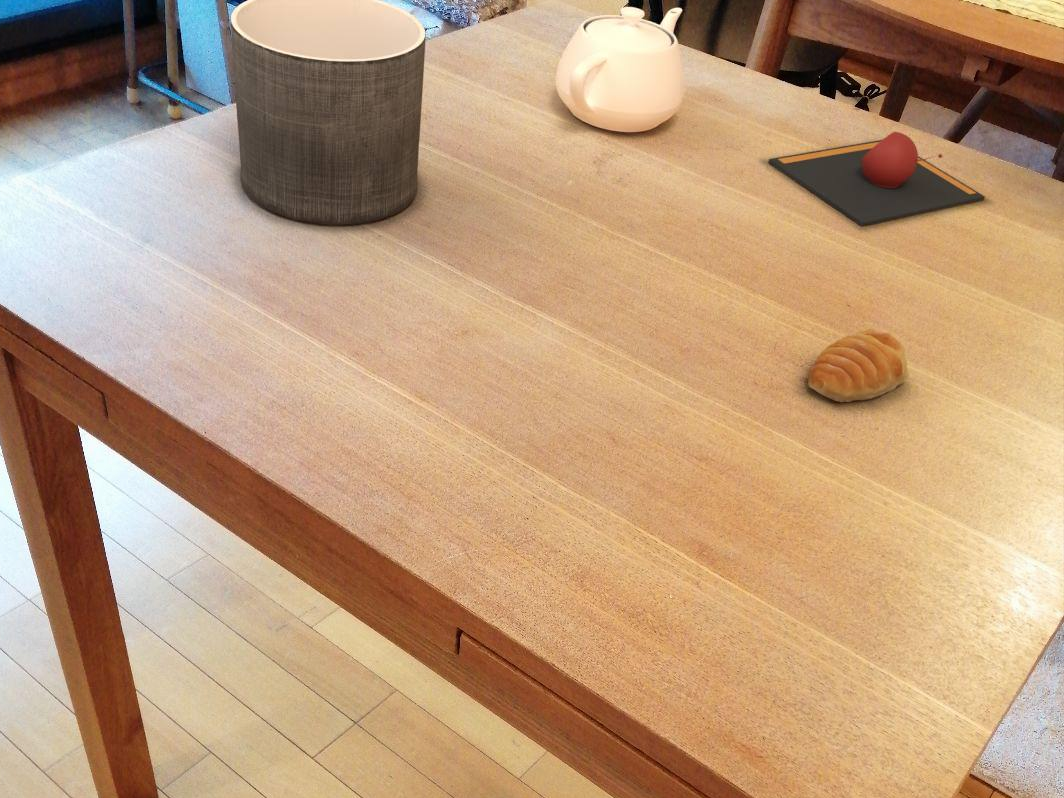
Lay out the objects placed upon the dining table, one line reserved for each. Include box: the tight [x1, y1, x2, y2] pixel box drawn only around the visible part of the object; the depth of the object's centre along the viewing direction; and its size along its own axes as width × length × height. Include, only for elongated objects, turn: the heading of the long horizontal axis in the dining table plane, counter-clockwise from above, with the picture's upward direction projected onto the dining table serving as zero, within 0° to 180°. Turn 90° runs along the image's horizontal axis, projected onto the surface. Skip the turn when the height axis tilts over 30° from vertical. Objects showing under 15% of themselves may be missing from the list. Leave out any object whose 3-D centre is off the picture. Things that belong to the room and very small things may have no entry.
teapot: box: [554, 6, 686, 133], centre depth 130 cm, size 25×16×12 cm, turn 147°
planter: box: [229, 0, 427, 225], centre depth 106 cm, size 18×18×16 cm
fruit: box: [862, 131, 943, 188], centre depth 125 cm, size 6×6×8 cm
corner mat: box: [768, 139, 986, 227], centre depth 128 cm, size 20×16×1 cm
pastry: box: [807, 328, 910, 403], centre depth 95 cm, size 9×7×4 cm
